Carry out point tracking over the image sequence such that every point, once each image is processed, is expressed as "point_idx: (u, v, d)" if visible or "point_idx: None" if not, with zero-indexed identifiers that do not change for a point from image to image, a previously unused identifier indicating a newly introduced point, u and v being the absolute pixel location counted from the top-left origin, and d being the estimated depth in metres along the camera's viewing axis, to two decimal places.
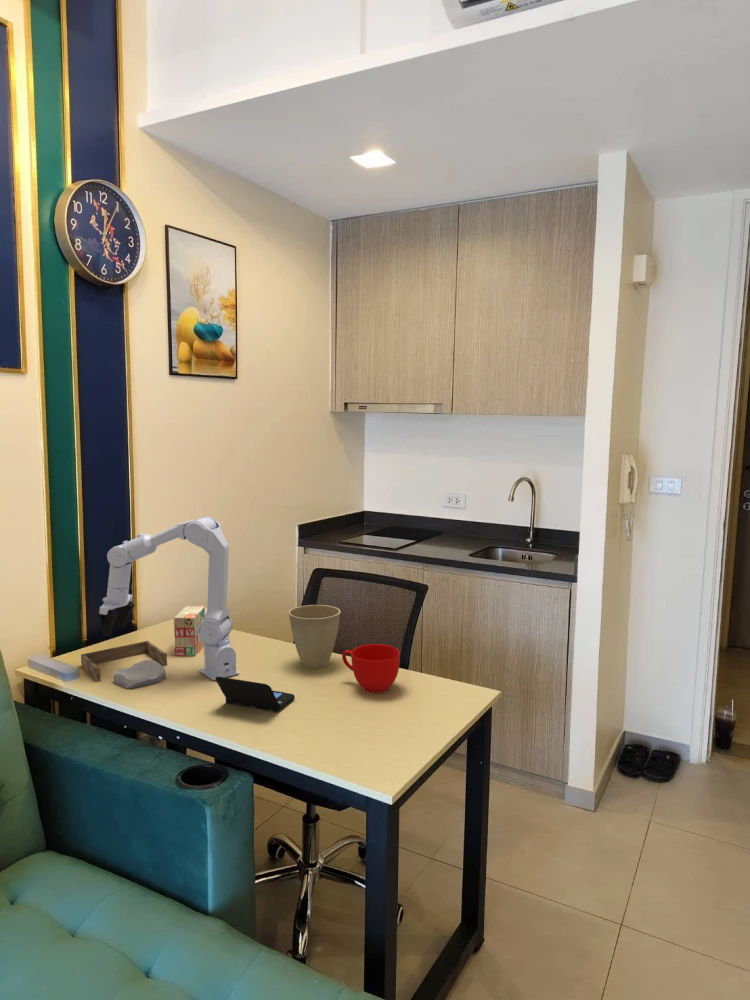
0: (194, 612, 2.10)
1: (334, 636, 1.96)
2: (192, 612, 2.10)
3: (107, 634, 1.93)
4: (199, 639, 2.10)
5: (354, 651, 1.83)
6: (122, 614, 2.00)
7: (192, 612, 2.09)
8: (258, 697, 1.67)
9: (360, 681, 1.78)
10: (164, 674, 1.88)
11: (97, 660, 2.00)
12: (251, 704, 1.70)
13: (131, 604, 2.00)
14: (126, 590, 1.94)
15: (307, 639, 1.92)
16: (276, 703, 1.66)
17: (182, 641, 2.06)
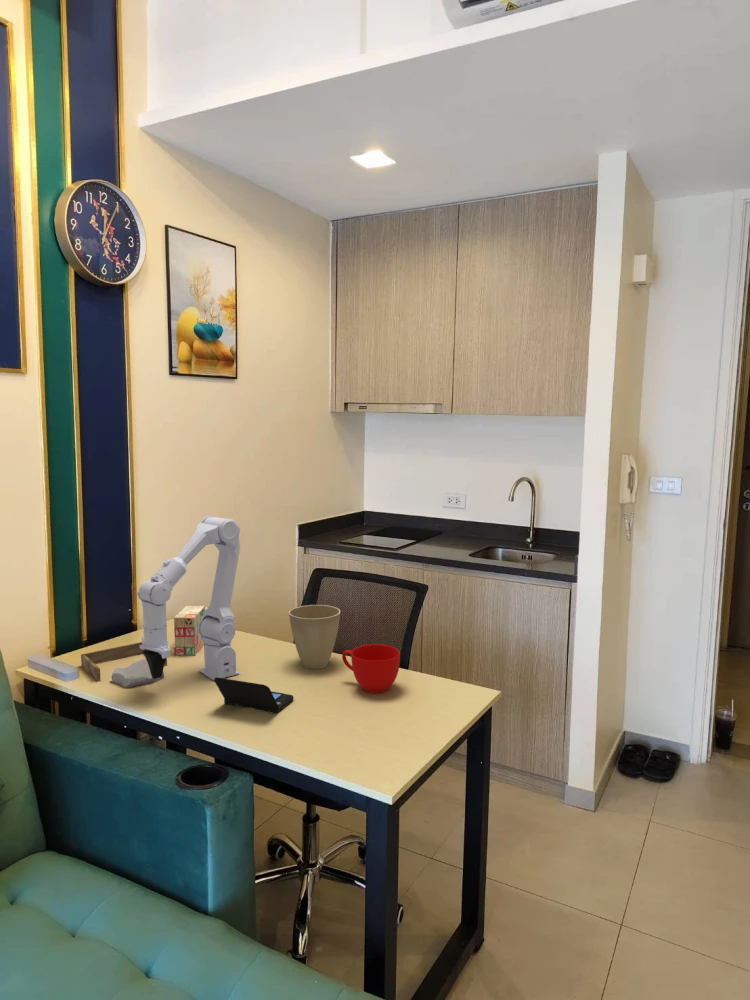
0: (194, 612, 2.10)
1: (334, 636, 1.96)
2: (192, 612, 2.10)
3: (159, 675, 1.78)
4: (199, 639, 2.11)
5: (354, 651, 1.83)
6: None
7: (192, 612, 2.10)
8: (257, 698, 1.67)
9: (360, 681, 1.78)
10: (162, 673, 1.89)
11: (97, 660, 2.00)
12: (250, 705, 1.69)
13: None
14: None
15: (307, 639, 1.92)
16: (275, 704, 1.66)
17: (181, 641, 2.06)
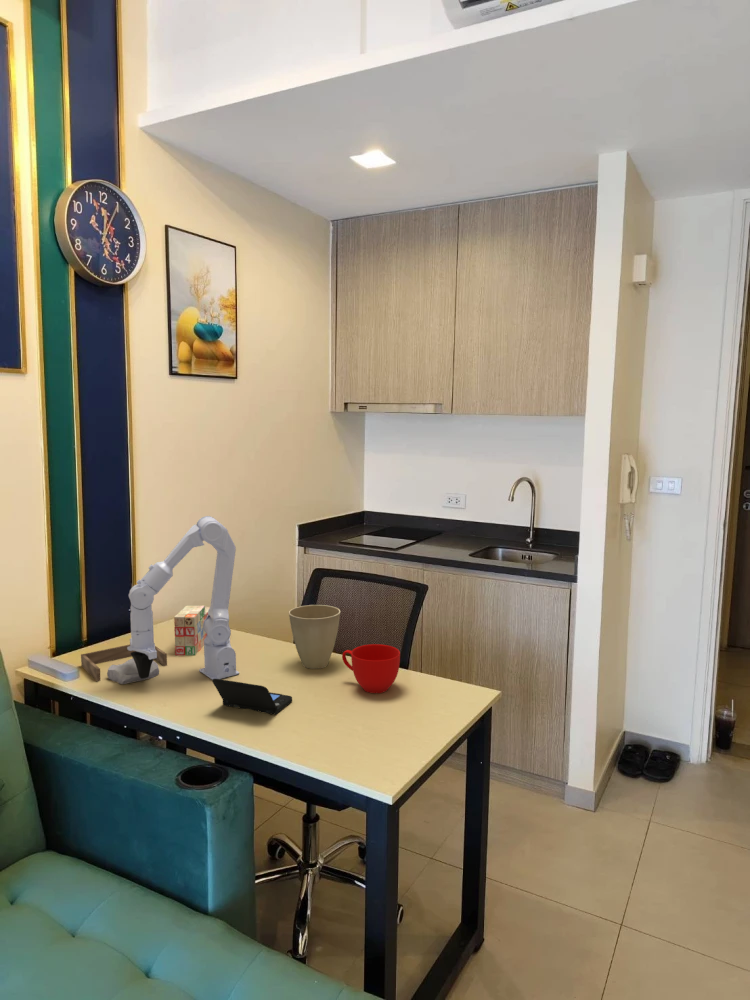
0: (194, 611, 2.11)
1: (334, 636, 1.96)
2: (192, 611, 2.11)
3: (146, 675, 1.86)
4: (199, 638, 2.11)
5: (354, 651, 1.83)
6: None
7: (192, 612, 2.10)
8: (255, 700, 1.66)
9: (360, 681, 1.78)
10: (157, 670, 1.91)
11: (97, 660, 2.00)
12: (248, 706, 1.69)
13: None
14: None
15: (307, 639, 1.92)
16: (273, 705, 1.65)
17: (182, 640, 2.07)
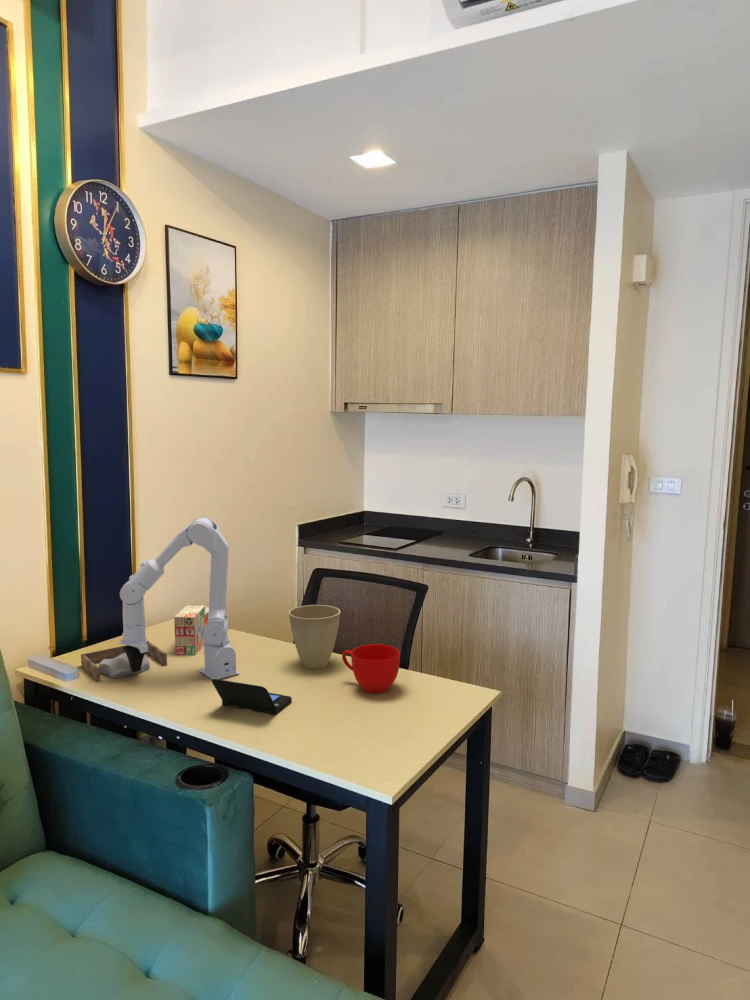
0: (194, 611, 2.11)
1: (334, 636, 1.96)
2: (192, 611, 2.11)
3: (138, 669, 1.90)
4: (199, 638, 2.11)
5: (354, 651, 1.83)
6: None
7: (192, 612, 2.10)
8: (255, 700, 1.66)
9: (360, 681, 1.78)
10: (148, 664, 1.95)
11: (97, 660, 2.00)
12: (248, 706, 1.69)
13: None
14: None
15: (307, 639, 1.92)
16: (273, 706, 1.65)
17: (182, 640, 2.07)
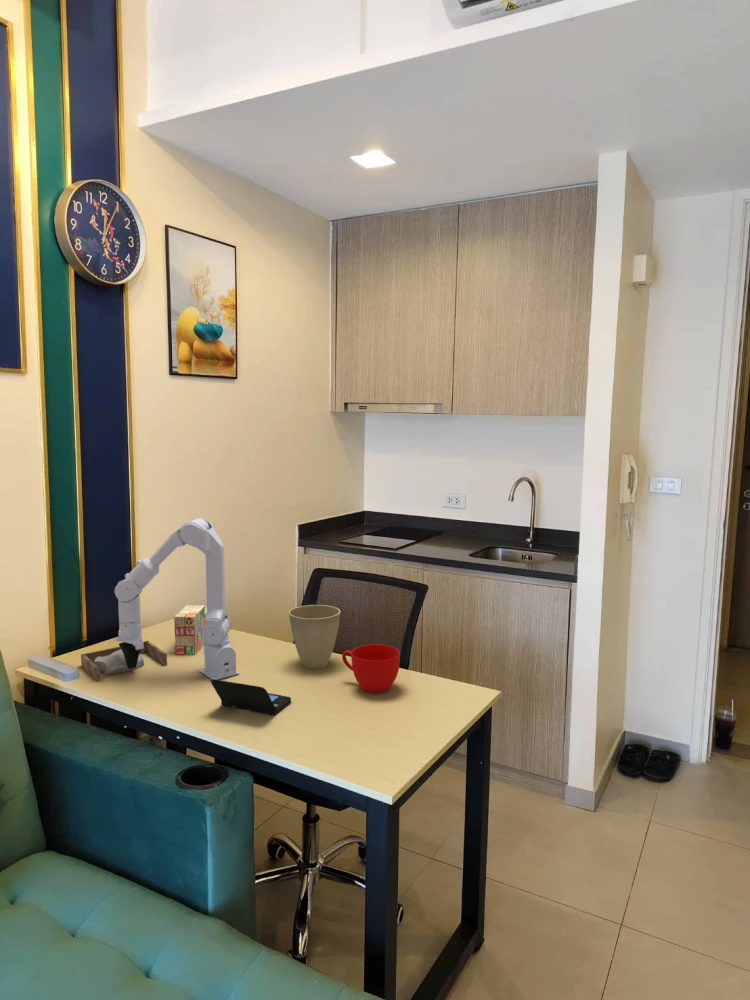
0: (194, 611, 2.11)
1: (334, 636, 1.96)
2: (192, 611, 2.11)
3: (134, 665, 1.93)
4: (199, 638, 2.12)
5: (354, 651, 1.83)
6: None
7: (192, 611, 2.10)
8: (254, 700, 1.65)
9: (360, 681, 1.78)
10: (142, 661, 1.98)
11: None
12: (247, 707, 1.68)
13: None
14: None
15: (307, 639, 1.92)
16: (272, 706, 1.65)
17: (182, 640, 2.07)
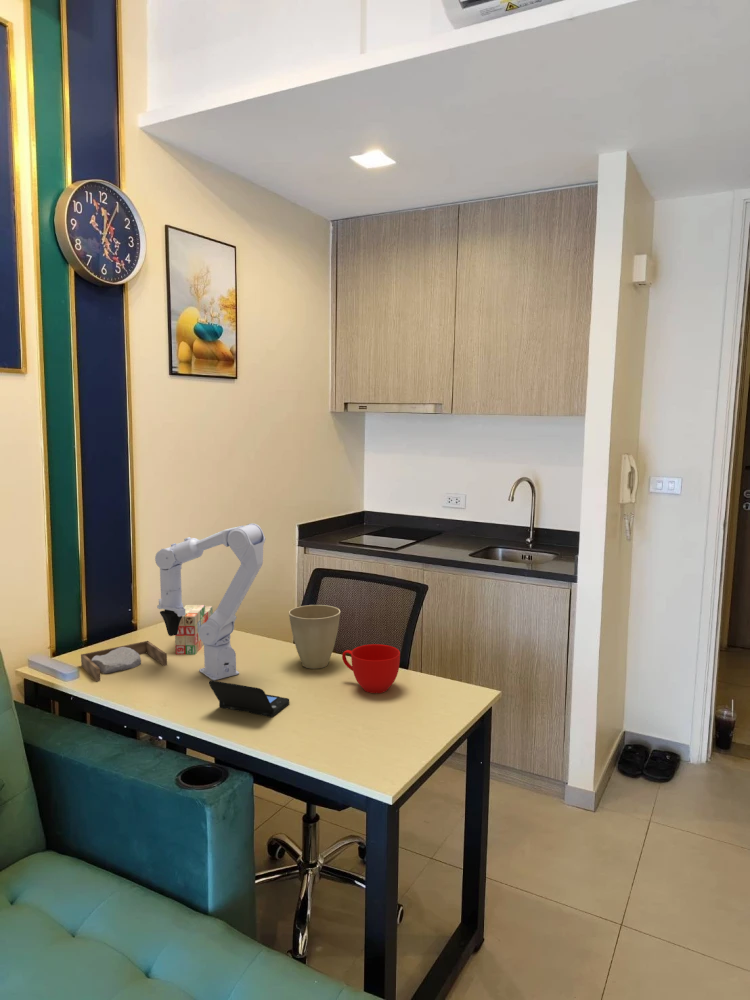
0: (194, 611, 2.11)
1: (334, 636, 1.96)
2: (192, 611, 2.11)
3: (175, 633, 1.97)
4: (199, 637, 2.12)
5: (354, 651, 1.83)
6: None
7: (192, 611, 2.11)
8: (252, 702, 1.65)
9: (360, 681, 1.78)
10: (139, 660, 1.99)
11: None
12: (245, 708, 1.67)
13: None
14: None
15: (307, 639, 1.92)
16: (270, 708, 1.64)
17: (182, 640, 2.07)
